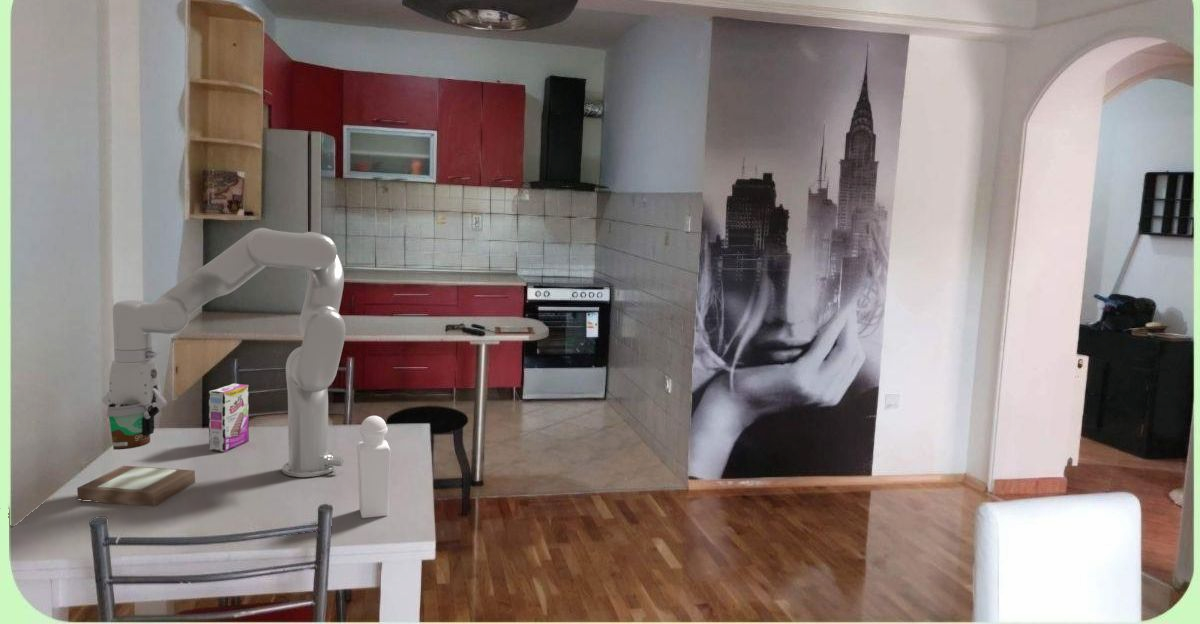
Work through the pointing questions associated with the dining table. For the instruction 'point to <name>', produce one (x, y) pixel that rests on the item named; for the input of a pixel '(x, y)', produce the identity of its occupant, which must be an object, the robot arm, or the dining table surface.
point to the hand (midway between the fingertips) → (135, 432)
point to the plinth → (137, 485)
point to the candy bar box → (228, 417)
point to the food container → (127, 426)
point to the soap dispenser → (373, 468)
